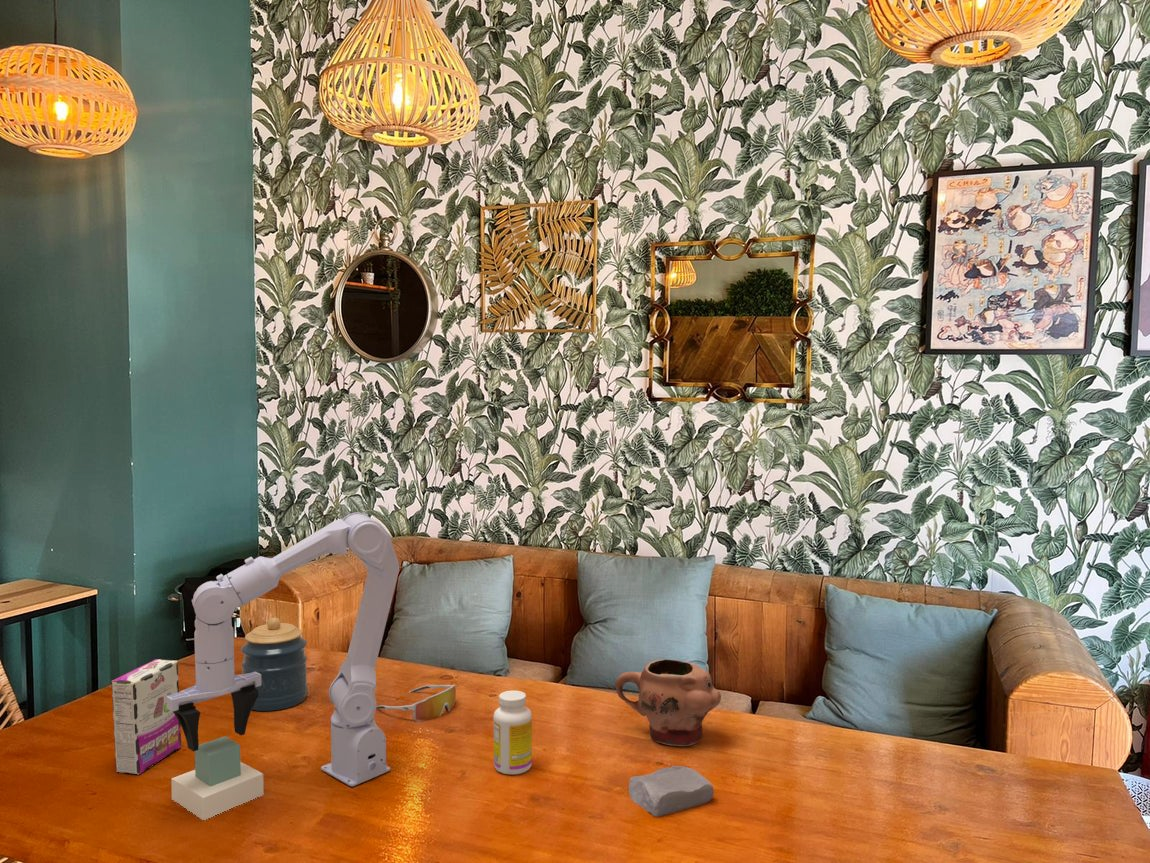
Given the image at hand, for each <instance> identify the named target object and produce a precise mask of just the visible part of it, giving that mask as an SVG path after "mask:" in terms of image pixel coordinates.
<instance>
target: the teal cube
mask: <svg viewBox="0 0 1150 863" xmlns="http://www.w3.org/2000/svg"><path fill="white" fill-rule="evenodd" d="M240 762H241V744H240V743H237V742H236V741H234V740H232V739H231V738H229V737H227V736H221V737H219V738H218V737H217V738H216V739H212V740H209V741H206V742H204V743H200V744H199V746H198V750H197V751H194V766H195V767H194V770H195V777H197V778H198V779H200V780H201V781H203V782H204V783H206V784H207V785H209V786H210V787H211V786H213V785H216V784H219V783H221V782H224V781H227V780H229V779H232V778H235V777H237V776H240V775H241V764H240Z"/></svg>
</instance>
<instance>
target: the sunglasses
mask: <svg viewBox="0 0 1150 863" xmlns="http://www.w3.org/2000/svg"><path fill="white" fill-rule="evenodd" d="M428 689H433V690H436V689H445V690H443V691H440V692H438V693H436V694H433V695H431V696H428V697H425V698H424V699H423V700H420V701H417V702H414V703H413V704H410V705H397V706H395V705H394V706H391V705H390V706H389V705H386V704H385V705H383V704H382V705H381V704H380V705H378V706H377V705H376V710H387V711H392V710H393V711H394V710H399V711H403V712H408V711H412V718H413V721H415V722H421V721H427V720H432V719H435V718H439V717H441V716H442V714H443V712H444V709H445V711H446V712H451V710H452V709H453V708H454V706H456V705H455V704H456V703H455V702H456V684H427V685H424V686H420V687H417V688H414V689H412V690H409V691H408V693H410V694H412V693H417V692H421V691H424V690H428Z"/></svg>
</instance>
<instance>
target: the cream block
mask: <svg viewBox="0 0 1150 863" xmlns="http://www.w3.org/2000/svg"><path fill="white" fill-rule="evenodd" d="M240 764H241V775H240V776H237V777H235V778H232V779H229V780H227V781H224V782H221V783H219V784H216V785H213V786H211V787H210V786H209V785H207V784H206V783H204V782H203V781H201V780H200V779H198V778H197V777H195V769H193V770H190V771H187V772H185V773H183V774H180V775H177V776H175V777H172V778H171V780H170V781H171V784H170V785H171V801H172V800H174V801H175V802H177V803H179V804H180V805H181V806H183V807H184V808H186V809H187V810H186V809H185V810H186V811H187V812H189V811H190V812H189V813H191V812H192V813H193V814H192V813H191V814H192V815H194V814H195V815H196V816H195V815H194V816H195V817H197V818H198V817H199V818H198V819H200V820H202V821H203V820H205V821H207V820H209V819H208V818H210V819H212V818H214V817H216V816H215V815H217V814H219V815H221V814H223V813H222V812H224V811H226V812H228V811H230V810H229V809H231V808H233V807H235V806H238V805H240V806H242V805H244V804H243V803H245V804H247V803H249V802H251V801H250V800H252V801H254V800H256V799H258V798H257V797H259V798H261V797H263V796H264V793H265V792H264V773H262V772H260V771H259V770H257V769H255V768H254V767H251V766H249V765H248V764H245V762H244V763H243V761H242V762H241V761H240ZM262 795H263V796H262ZM260 796H261V797H260ZM255 798H256V799H255ZM253 799H254V800H253ZM174 801H173V802H174ZM248 801H249V802H248ZM175 802H174V803H175ZM246 802H247V803H246ZM177 803H176V804H177ZM241 804H242V805H241ZM180 805H179V806H180ZM181 806H180V807H181ZM183 807H182V808H183ZM238 807H239V806H238ZM184 808H183V809H184ZM235 808H236V807H235ZM233 809H234V808H233ZM227 810H228V811H227ZM231 810H232V809H231ZM220 813H221V814H220ZM224 813H225V812H224ZM213 816H214V817H213ZM217 816H218V815H217ZM211 817H212V818H211ZM206 819H207V820H206Z"/></svg>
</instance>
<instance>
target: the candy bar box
mask: <svg viewBox="0 0 1150 863" xmlns="http://www.w3.org/2000/svg"><path fill="white" fill-rule="evenodd" d="M178 662H179V661H178V660H173V659H161V658H160V659H159V658H158V659H153V660H152V661H150V662H148V663H146V664H143V665H141V666H139V667H137V668H135V669H133V670H131V671H129V672H127V673H125V674H122V675H121V676H119V677H117V678H115V679H113V680H111V694H112V695H111V698H112V716H113V718H112V719H113V735H114V753H115V755H114V757H115V759H114V760H115V771H116V773H117V772H119V773H118V774H123V773H129V774H128V775H134V774H137V775H138V776H139V774H140V775H141V773H142V772H143V773H144V771H145V770H146V771H147V769H148V768H149V767H151V766H152V765H154V764H155V763H157V762H158V763H160V762H161V761H163V760H164V759H166V758H167V757H169V756H170V755H172V754H173V753H174V751H175V750H176V751H177V749H178V750H179V749H180V748H182V733H181V732H182V731H181V729H182V727H181V725H180V723H179V721H178V719H177V718H176V716H175V714H174V713H173V712H172V711H170V710H168V709H167V701H166V697H167V696H170V695H173V694H176V693H178V692H180V686H179V668H178V667H179V665H178V664H179V663H178ZM176 751H175V752H176ZM171 753H172V754H171ZM169 754H170V755H169ZM168 755H169V756H168ZM165 757H166V758H165ZM163 758H164V759H163ZM162 759H163V760H162ZM160 760H161V761H160ZM159 761H160V762H159ZM158 763H157V764H158ZM155 765H156V764H155ZM155 765H154V766H155ZM152 767H153V766H152ZM152 767H151V768H152ZM149 769H150V768H149ZM149 769H148V770H149ZM146 771H145V772H146ZM143 773H142V774H143Z"/></svg>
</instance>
